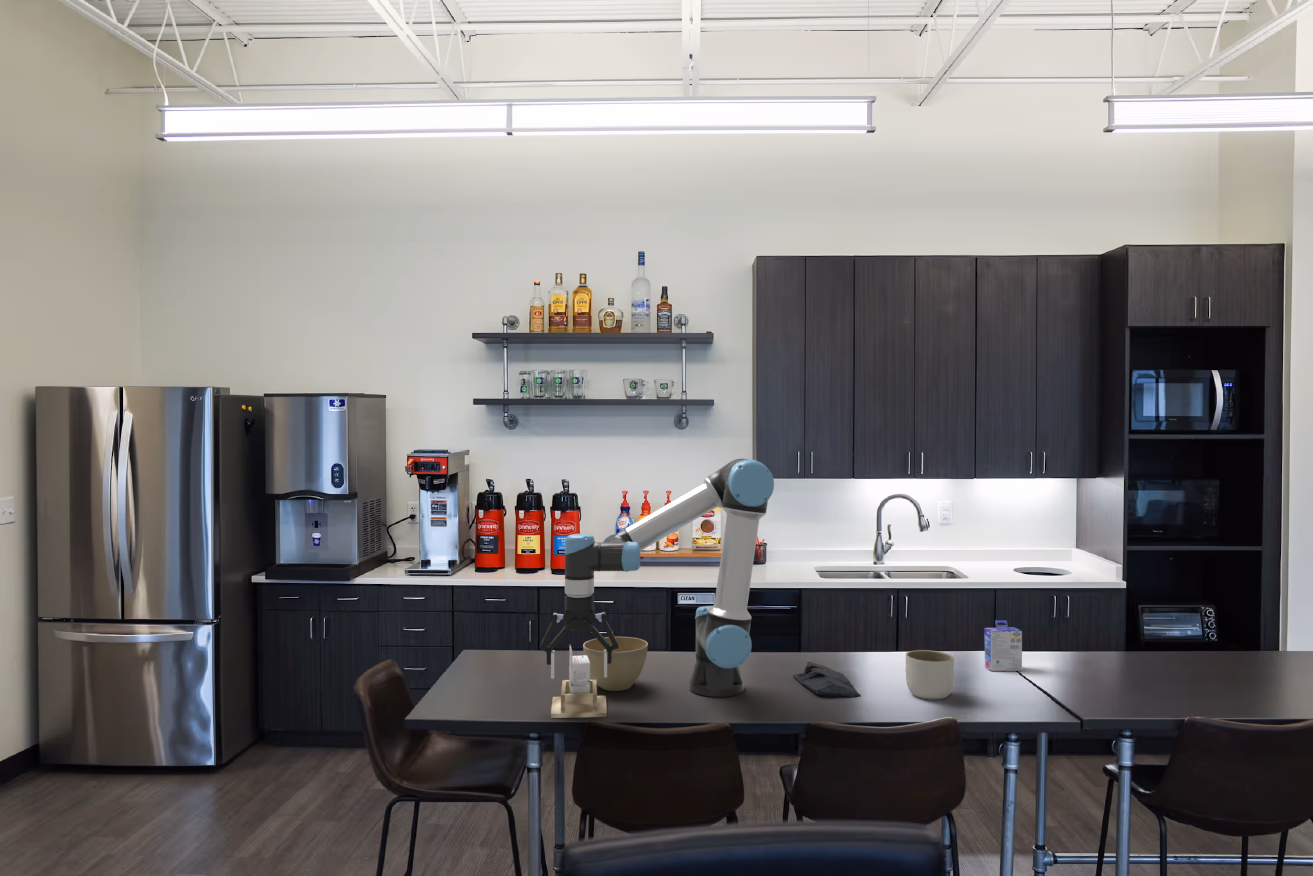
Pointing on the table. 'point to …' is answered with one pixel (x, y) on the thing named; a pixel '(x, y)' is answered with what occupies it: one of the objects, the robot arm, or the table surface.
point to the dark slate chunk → (826, 681)
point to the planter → (929, 674)
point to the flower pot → (617, 662)
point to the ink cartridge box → (1003, 648)
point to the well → (578, 703)
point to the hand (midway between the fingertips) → (579, 676)
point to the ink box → (579, 674)
